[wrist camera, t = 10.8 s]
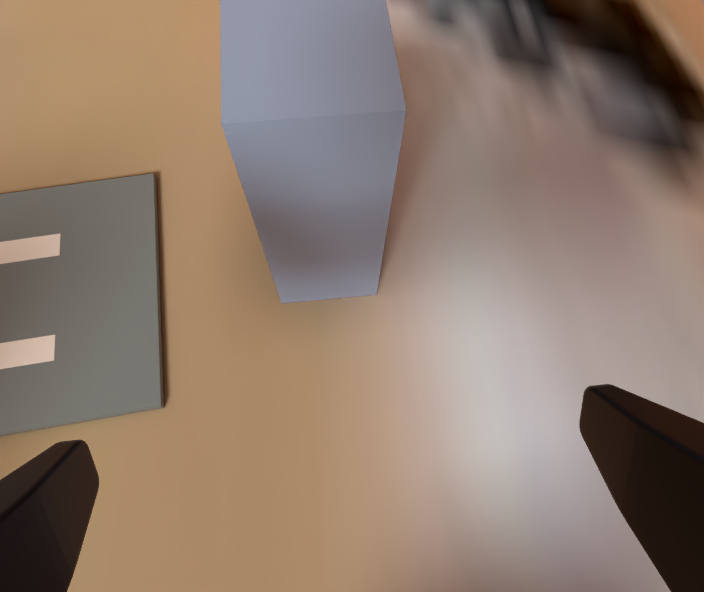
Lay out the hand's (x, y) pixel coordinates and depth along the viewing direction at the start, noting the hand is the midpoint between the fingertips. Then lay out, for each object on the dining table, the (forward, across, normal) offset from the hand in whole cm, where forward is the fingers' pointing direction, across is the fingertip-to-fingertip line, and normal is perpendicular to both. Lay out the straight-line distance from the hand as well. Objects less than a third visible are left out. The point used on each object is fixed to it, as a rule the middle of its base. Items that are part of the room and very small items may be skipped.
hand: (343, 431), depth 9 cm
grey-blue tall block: (+16, 0, +2) cm, 16 cm away
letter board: (+15, +16, +3) cm, 22 cm away
